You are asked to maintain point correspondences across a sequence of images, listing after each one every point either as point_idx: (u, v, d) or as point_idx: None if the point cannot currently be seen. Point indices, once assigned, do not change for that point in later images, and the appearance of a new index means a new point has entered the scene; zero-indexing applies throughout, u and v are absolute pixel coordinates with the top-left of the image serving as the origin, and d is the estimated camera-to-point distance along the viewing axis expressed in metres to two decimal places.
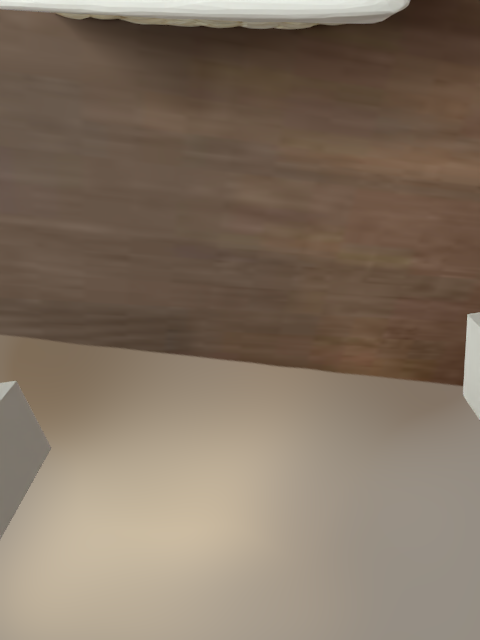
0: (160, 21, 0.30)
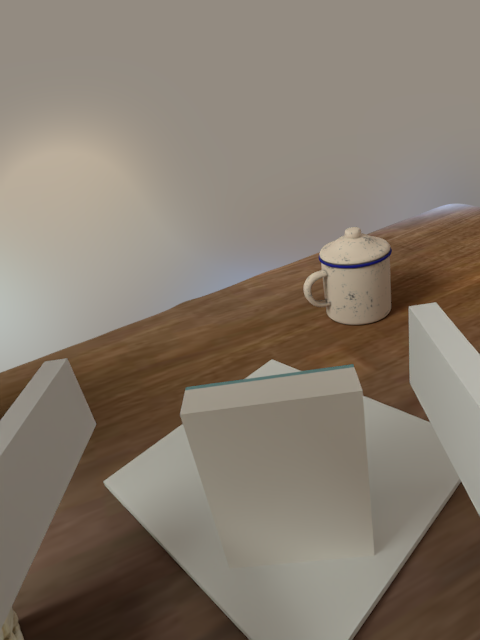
0: None
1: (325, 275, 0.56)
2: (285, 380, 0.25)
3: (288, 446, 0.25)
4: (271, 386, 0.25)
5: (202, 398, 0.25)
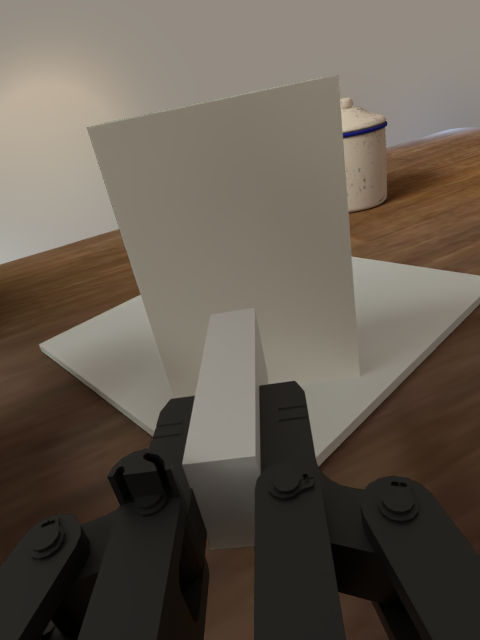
0: None
1: None
2: None
3: (239, 184, 0.19)
4: None
5: (122, 119, 0.19)
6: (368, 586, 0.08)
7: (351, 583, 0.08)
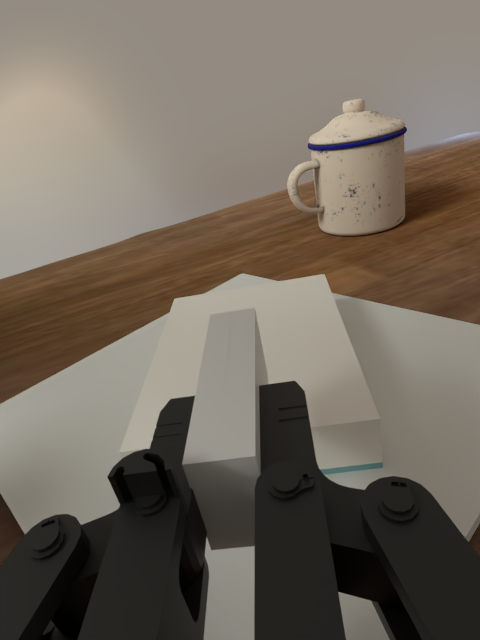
0: None
1: (316, 165, 0.41)
2: None
3: (257, 307, 0.26)
4: None
5: None
6: (368, 586, 0.08)
7: (351, 583, 0.08)
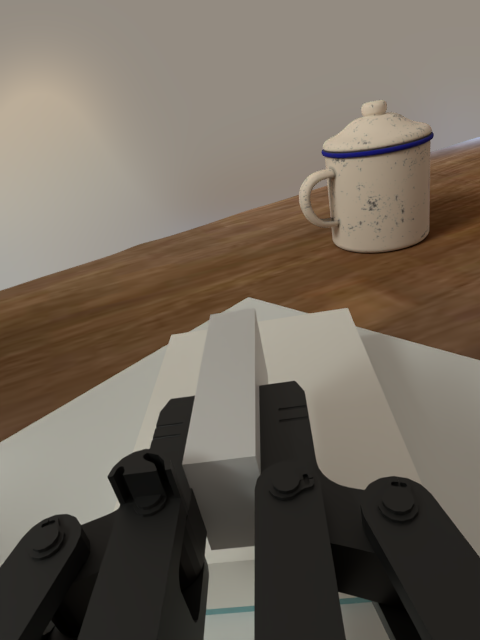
0: None
1: (332, 175, 0.37)
2: None
3: (269, 351, 0.22)
4: None
5: None
6: (369, 586, 0.08)
7: (351, 582, 0.08)
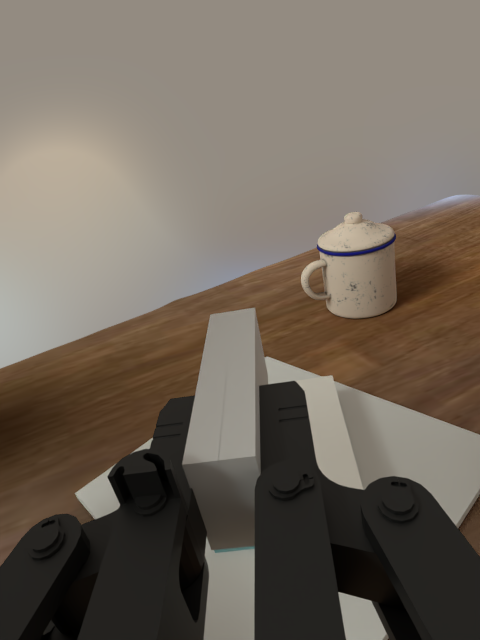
0: None
1: (324, 265, 0.52)
2: None
3: None
4: None
5: None
6: (368, 586, 0.08)
7: (351, 582, 0.08)
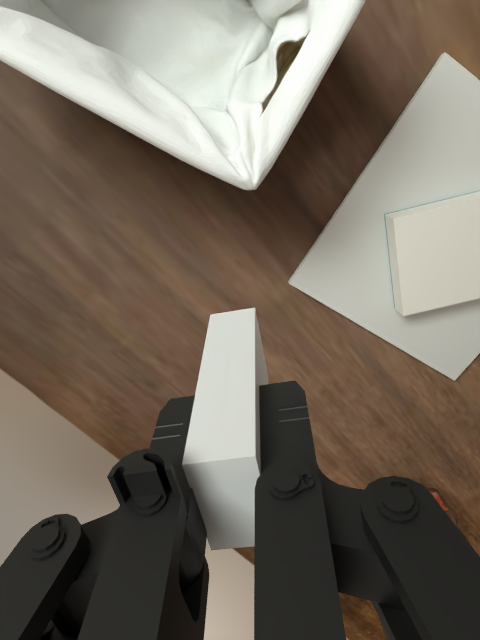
0: None
1: None
2: None
3: None
4: None
5: None
6: (368, 586, 0.08)
7: (351, 583, 0.08)
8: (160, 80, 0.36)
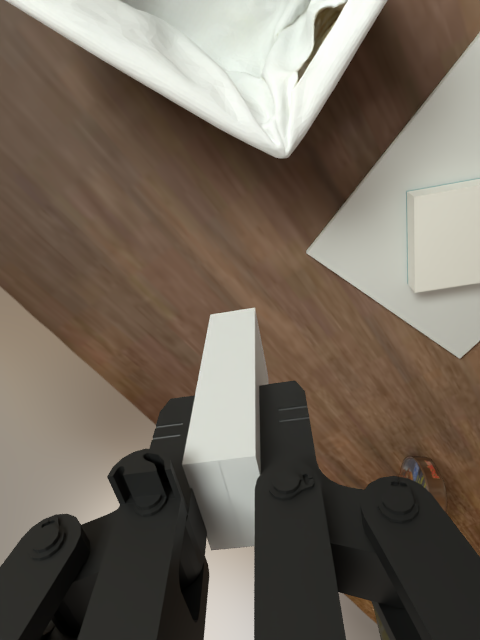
0: None
1: None
2: None
3: None
4: None
5: None
6: (368, 586, 0.08)
7: (351, 582, 0.08)
8: (198, 43, 0.37)
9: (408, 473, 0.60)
